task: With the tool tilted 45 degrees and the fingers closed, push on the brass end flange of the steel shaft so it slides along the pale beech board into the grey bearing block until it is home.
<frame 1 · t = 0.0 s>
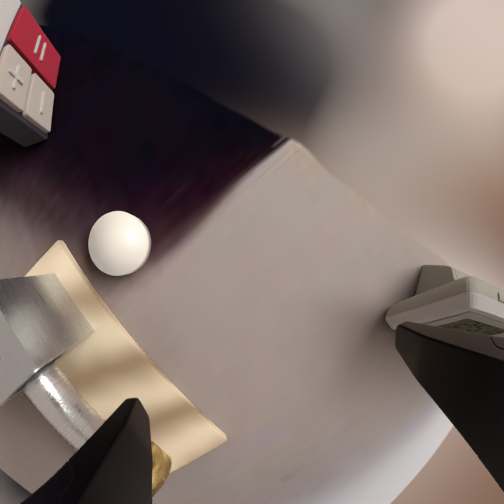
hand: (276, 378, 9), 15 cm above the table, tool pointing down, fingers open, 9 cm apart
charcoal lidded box: (43, 100, 22), on the table
shaft: (56, 399, 15), point 7 cm above the table, slide at 0.0 cm
digital clock: (438, 312, 27), on the table
spacer: (123, 244, 23), on the table
board: (155, 435, 23), on the table
bearing block: (22, 336, 16), on the board, point 6 cm above the table
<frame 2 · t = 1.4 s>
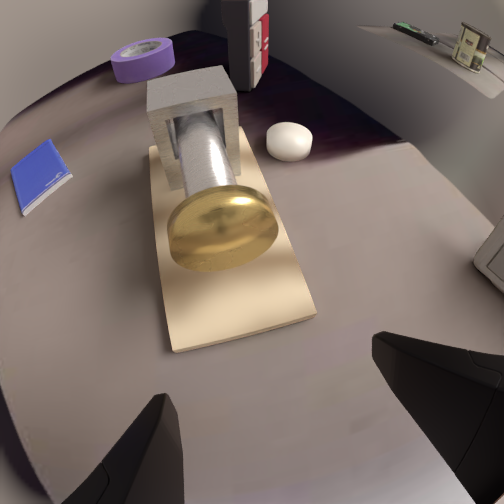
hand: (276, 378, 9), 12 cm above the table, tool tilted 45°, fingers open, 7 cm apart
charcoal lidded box: (249, 77, 42), on the table
shaft: (201, 150, 22), point 7 cm above the table, slide at 0.0 cm
hard drive: (40, 178, 33), on the table
spacer: (288, 148, 32), on the table
tape roll: (145, 70, 46), on the table
coffee can: (465, 65, 58), on the table
disk drive: (415, 36, 67), on the table
board: (233, 289, 24), on the table
bearing block: (194, 127, 25), on the board, point 6 cm above the table
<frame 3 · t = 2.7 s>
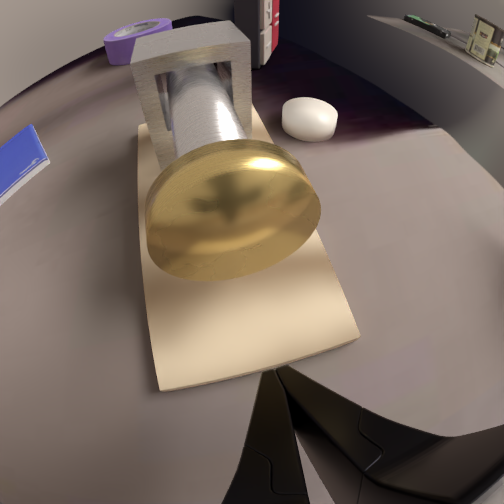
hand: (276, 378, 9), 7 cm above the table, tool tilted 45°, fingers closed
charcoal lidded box: (258, 56, 35), on the table
shaft: (201, 113, 15), point 7 cm above the table, slide at 0.0 cm
hard drive: (18, 167, 26), on the table
spacer: (308, 127, 26), on the table
tape roll: (141, 52, 40), on the table
coffee can: (479, 58, 51), on the table
disk drive: (427, 29, 61), on the table
board: (244, 304, 17), on the table
bearing block: (194, 93, 19), on the board, point 6 cm above the table
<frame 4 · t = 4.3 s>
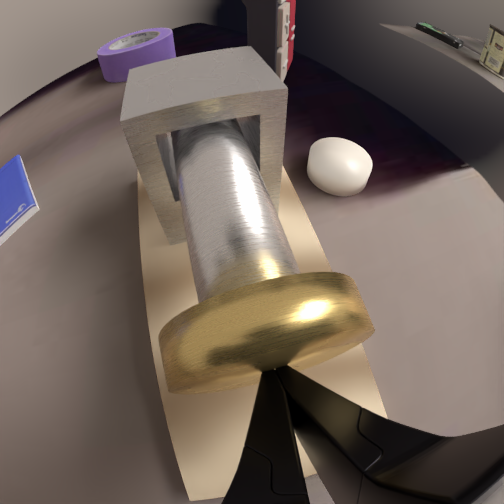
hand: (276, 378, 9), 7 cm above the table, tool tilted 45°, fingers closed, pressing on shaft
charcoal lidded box: (271, 75, 32), on the table
shaft: (216, 171, 13), point 7 cm above the table, slide at 1.4 cm, touching gripper
hard drive: (5, 207, 23), on the table
spacer: (336, 175, 23), on the table
tape roll: (139, 66, 37), on the table
coffee can: (492, 70, 49), on the table
disk drive: (439, 38, 58), on the table
board: (274, 411, 14), on the table
bearing block: (206, 145, 16), on the board, point 6 cm above the table
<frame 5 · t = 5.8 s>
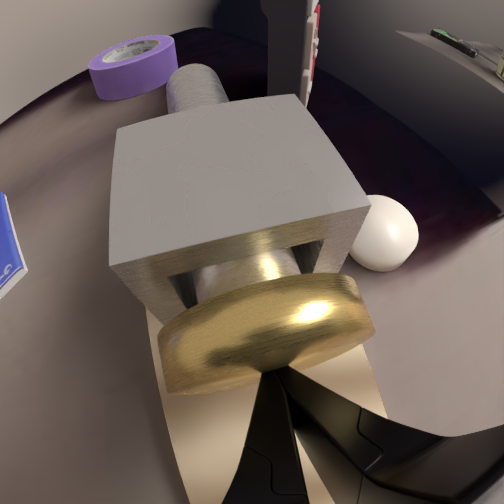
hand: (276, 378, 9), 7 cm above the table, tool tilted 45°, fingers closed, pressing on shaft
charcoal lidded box: (290, 97, 29), on the table
shaft: (215, 170, 13), point 7 cm above the table, slide at 8.1 cm, touching gripper
spacer: (375, 241, 19), on the table
tape roll: (137, 80, 33), on the table
disk drive: (454, 46, 55), on the table
bearing block: (231, 238, 13), on the board, point 6 cm above the table
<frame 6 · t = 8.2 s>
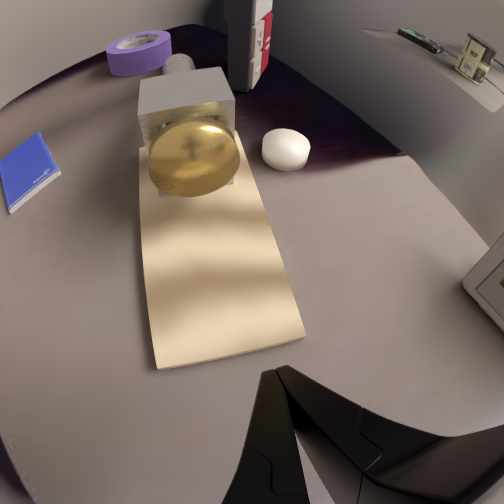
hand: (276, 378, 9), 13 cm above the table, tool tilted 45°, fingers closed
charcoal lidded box: (248, 77, 40), on the table
shaft: (183, 103, 24), point 7 cm above the table, slide at 8.0 cm
hard drive: (28, 173, 30), on the table
digital clock: (503, 314, 23), on the table
spacer: (284, 156, 31), on the table
tape roll: (141, 63, 43), on the table
coffee can: (467, 75, 59), on the table
disk drive: (420, 44, 67), on the table
board: (220, 306, 23), on the table
bearing block: (188, 131, 24), on the board, point 6 cm above the table
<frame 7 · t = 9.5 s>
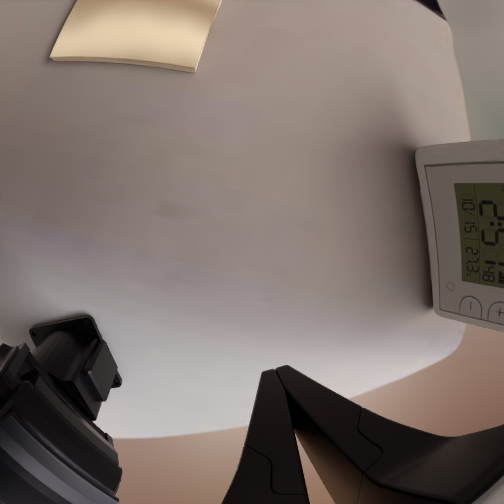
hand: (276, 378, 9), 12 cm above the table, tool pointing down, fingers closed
digital clock: (440, 229, 23), on the table
board: (138, 17, 15), on the table
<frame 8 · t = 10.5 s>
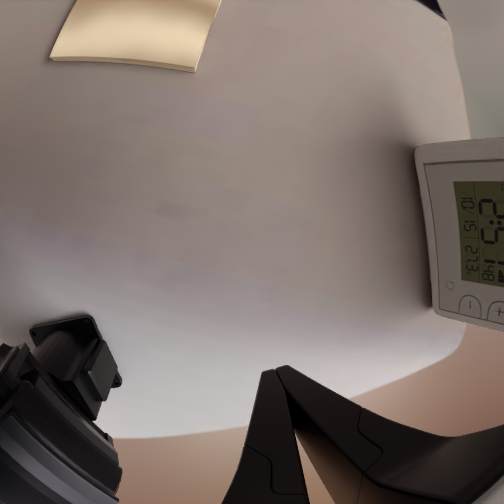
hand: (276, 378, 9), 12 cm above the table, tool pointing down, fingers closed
digital clock: (439, 228, 23), on the table
board: (137, 17, 15), on the table
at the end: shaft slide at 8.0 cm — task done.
